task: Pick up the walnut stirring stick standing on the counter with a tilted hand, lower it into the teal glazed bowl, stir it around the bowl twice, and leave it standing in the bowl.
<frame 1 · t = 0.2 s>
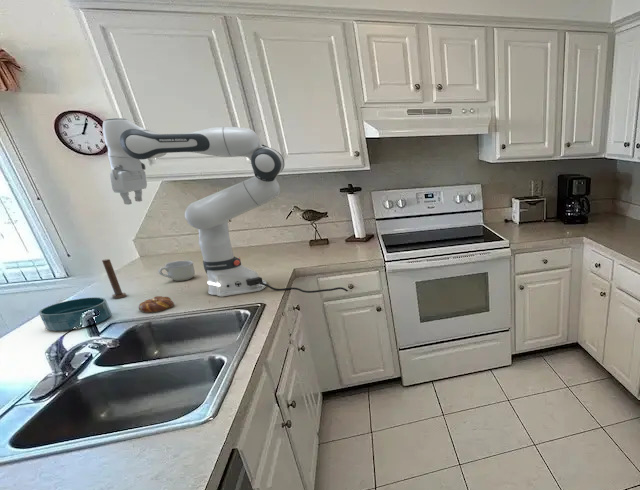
hand: (133, 202, 159), 39 cm above the worktop, tool pointing down, fingers open, 8 cm apart
teacup: (179, 280, 195), on the worktop
bowl: (80, 322, 149), on the worktop
pretzel: (157, 308, 162), on the worktop
stirring stick: (119, 297, 174), on the worktop
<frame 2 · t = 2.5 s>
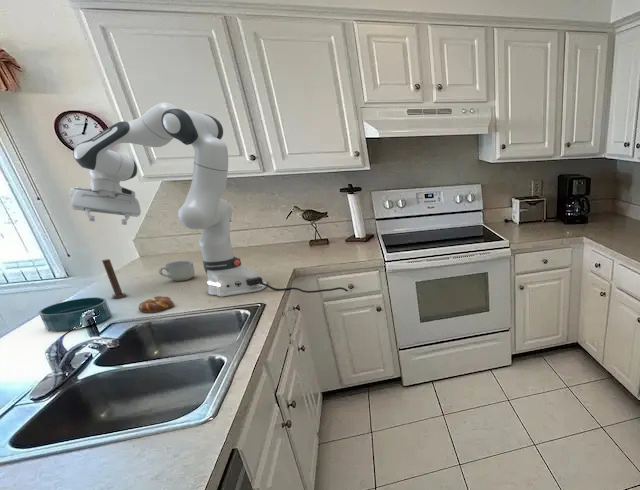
hand: (108, 222, 165), 31 cm above the worktop, tool tilted 35°, fingers open, 8 cm apart
nothing on the worktop moved.
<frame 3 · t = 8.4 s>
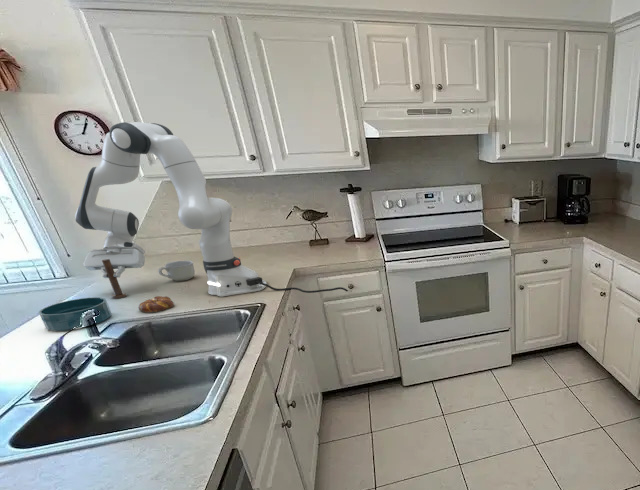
hand: (111, 277, 170), 9 cm above the worktop, tool tilted 45°, fingers closed on stirring stick, 2 cm apart
stirring stick: (119, 297, 174), on the worktop, touching gripper
everything else where it was.
when the fingers open (10 cm above the worktop, at t = 25.1 s): stirring stick stays where it is, resting on bowl.
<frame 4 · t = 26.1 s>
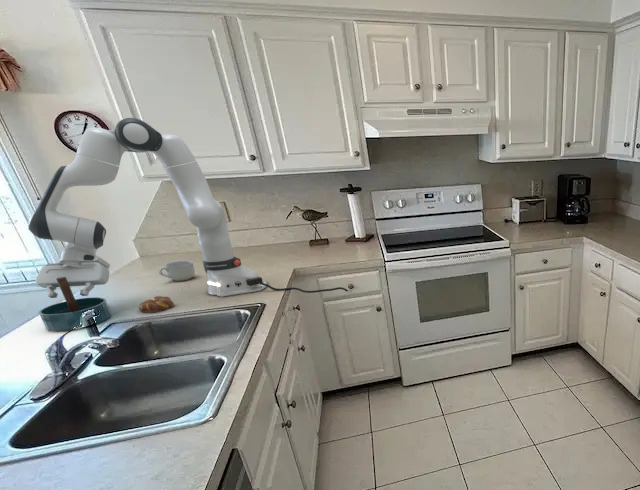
hand: (68, 296, 144), 10 cm above the worktop, tool tilted 45°, fingers open, 8 cm apart
stirring stick: (79, 320, 149), point 1 cm above the worktop, touching bowl
everything else where it was.
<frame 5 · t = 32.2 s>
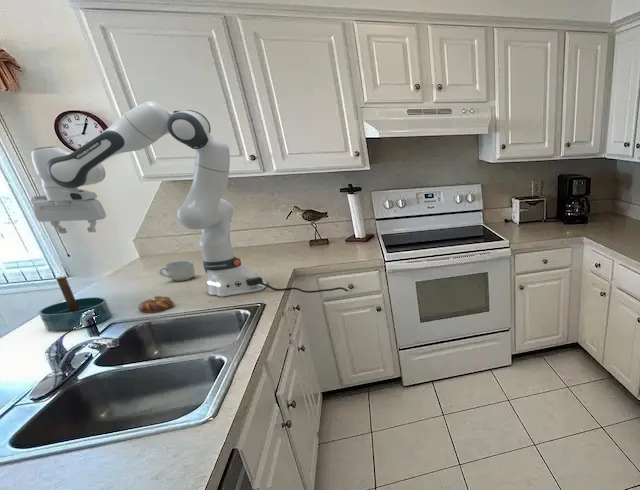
hand: (78, 232, 154), 29 cm above the worktop, tool pointing down, fingers open, 8 cm apart
nothing on the worktop moved.
at the end: stirring stick inside the target area in the bowl (0.1 cm from its centre), point 0.8 cm above the bowl's base; stirring stick tilted 0°; the gripper is holding nothing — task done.
